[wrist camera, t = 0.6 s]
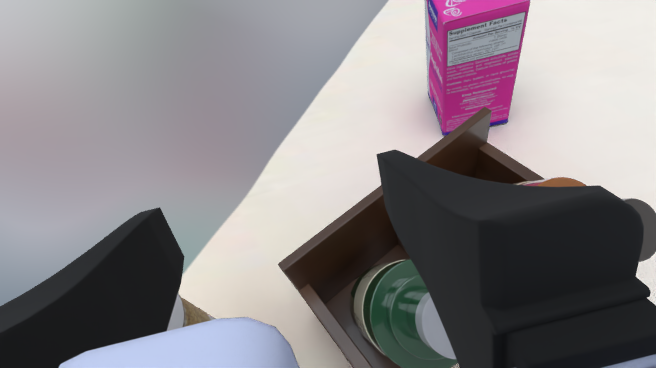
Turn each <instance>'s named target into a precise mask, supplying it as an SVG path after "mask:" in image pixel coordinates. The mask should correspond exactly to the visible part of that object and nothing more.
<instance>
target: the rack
mask: <svg viewBox="0 0 656 368" xmlns="http://www.w3.org/2000/svg"><path fill="white" fill-rule="evenodd" d="M491 113H492V110H490V109H488V108H487V107H483V108H482V109H481V110H479V111H478V112H477V113H475V114H474V115H473V116H471V117H470V118H469V119H467V120H466V121H465V122H463V123H462V124H461V125H460V126H458V127H457V128H456V129H454V130H453V131H452V132H450V133H449V134H448V135H446V136H445V137H444V138H442V139H441V140H440V141H439V142H437V143H436V144H435V145H433V146H432V147H431V148H429V149H428V150H427V151H425V152H424V153H423V154H421V155H420V156H419V157H418V158H416V159H419V160H421V161H423V162H426V163H428V164H431V165H433V166H436V167H439V168H442V169H445V170H448V171H451V172H454V173H457V174H460V175H464V176H468V177H473V178H477V179H481V180H486V181H492V182H499V183H507V184H513V183H520V182H526V181H537V180H543V179H544V178H542V177H541V176H539V175H538V174H536V173H534V172H533V171H531V170H530V169H528V168H527V167H525V166H523V165H522V164H520V163H519V162H517V161H516V160H514V159H512V158H511V157H509V156H508V155H506V154H505V153H503V152H501V151H500V150H498V149H497V148H495V147H494V146H492V145H490V144H489V143H487V138H488V132H489V125H490V119H491ZM407 259H410V257H409V255H408V253H407V252H406V250H405V248H404V246H403V245H402V243H401V241H400V239H399V237H398V236H397V234H396V232H395V230H394V228H393V225H392V223H391V220H390V218H389V215H388V213H387V210H386V207H385V202H384V196H383V190H382V185H381V186H380V187H378V188H377V189H376V190H374V191H373V192H372V193H370V194H369V195H368V196H366V197H365V198H364V199H362V200H361V201H360V202H359V203H357V204H356V205H355V206H353V207H352V208H351V209H349V210H348V211H347V212H345V213H344V214H343V215H341V216H340V217H339V218H338V219H336V220H335V221H334V222H332V223H331V224H330V225H328V226H327V227H326V228H324V229H323V230H322V231H320V232H319V233H318V234H317V235H315V236H314V237H313V238H311V239H310V240H309V241H307V242H306V243H305V244H303V245H302V246H301V247H299V248H298V249H297V250H296V251H294V252H293V253H292V254H290V255H289V256H288V257H286V258H285V259H284V260H282V261H281V262H280V263H279V264H278V265H279V267H280V268H281V269H282V271H283V272H284V273H285V275H286V276H287V277H288V279H289V280H290V281H291V282H292V284H293V285H294V286H295V288H296V289H297V290H298V291H299V293H300V294H301V296H302V297H303V298H304V300H305V301H306V303H307V304H308V305H309V307H310V308H311V310H312V311H313V312H314V314H315V315H316V317H317V318H318V319H319V321H320V322H321V323H322V325H323V326H324V328H325V329H326V330H327V332H328V333H329V335H330V336H331V337H332V339H333V340H334V342H335V343H336V344H337V346H338V347H339V349H340V350H341V351H342V353H343V354H344V355H345V357H346V358H347V360H348V361H349V362H350V364H351V365H352V367H353V368H402V367H400V366H398V365H397V364H396V363H394V362H393V361H392V360H390V359H389V358H388V357H387V356H385V355H384V354H383V353H381V352H380V351H379V350H378V349H377V348H376V347H375V346H373V345H372V344H371V343H370V342H369V341H368V340H367V339H366V338H365V337H364V336H363V335H362V334H361V333H360V332H359V331H358V329H357V328H356V326H355V324H354V322H353V320H352V317H351V312H350V296H351V292H352V288H353V286H354V284H355V282H356V281H357V279H358V278H359V277H360V275H362V274H363V273H364V272H365V271H366V270H368V269H369V268H371V267H373V266H376V265H379V264H384V263H388V262H393V261H399V260H407Z"/></svg>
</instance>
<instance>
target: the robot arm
mask: <svg viewBox="0 0 656 368" xmlns="http://www.w3.org/2000/svg"><path fill="white" fill-rule="evenodd" d="M377 159H378V165H379V171H380V177H381V184H382V190H383V196H384V202H385V207H386V210H387V213H388V215H389V218H390V220H391V223H392V225H393V228H394V230H395V232H396V234H397V236H398V237H399V239H400V241H401V243H402V245H403V246H404V248H405V250H406V252H407V253H408V255H409V257H410V259H411V260H412V262H413V264H414V265H415V267H416V269H417V271H418V272H419V274H420V276H421V278H422V280H423V282H424V283H425V285H426V287H427V289H428V292H429V294H430V296H431V299H432V301H433V303H434V306H435V308H436V310H437V313H438V315H439V317H440V320H441V322H442V325H443V327H444V329H445V332H446V334H447V337H448V339H449V342H450V344H451V347H452V349H453V352H454V354H455V357H456V359H457V362H458V364H459V367H460V368H656V306H655V305H654V304H653V303H652V302H651V301H650V300H648V299H647V298H646V297H649V296H650V290H649V288H648V287H647V286H646V285H645V284H644V283H642V282H641V281H640V280H639V279H638V278H636V277H635V276H636V271H637V267H638V262H639V258H640V254H641V249H642V245H643V237H644V225H643V222H642V218H641V215H640V214H639V213H638V212H637V211H636V210H635V209H634V207H633V206H631V205H630V204H628V203H627V202H625V201H623V200H622V199H620V198H619V197H617V196H615V195H614V194H612V193H611V192H609V191H608V190H606V189H604V188H603V187H601V186H570V187H546V186H526V185H514V184H507V183H499V182H492V181H486V180H481V179H477V178H473V177H468V176H464V175H460V174H457V173H454V172H451V171H448V170H445V169H442V168H439V167H436V166H433V165H431V164H428V163H426V162H423V161H421V160H419V159H416V158H414V157H412V156H410V155H407V154H405V153H403V152H400V151H397V150H392V151H388V152H384V153H380V154H377ZM183 262H184V255H183V254H182V252H181V249H180V247H179V245H178V243H177V241H176V239H175V237H174V235H173V234H172V231H171V229H170V227H169V225H168V223H167V221H166V219H165V217H164V215H163V213H162V211H161V209H160V208H156V209H152V210H148V211H144V212H141V213H139V214H137V215H135V216H134V217H132V218H131V219H129V220H128V221H126V222H125V223H124V224H122V225H121V226H120V227H118V228H117V229H116V230H114V231H113V232H112V233H110V234H109V235H108V236H106V237H105V238H104V239H103V240H101V241H100V242H99V243H97V244H96V245H95V246H94V247H92V248H91V249H89V250H88V251H87V252H85V253H84V254H83V255H81V256H80V257H79V258H77V259H76V260H74V261H73V262H72V263H70V264H69V265H67V266H66V267H65V268H63V269H62V270H60V271H59V272H58V273H56V274H54V275H53V276H51V277H50V278H48V279H47V280H45V281H44V282H42V283H40V284H39V285H37V286H35V287H34V288H32V289H31V290H29V291H27V292H26V293H24V294H22V295H21V296H19V297H17V298H15V299H13V300H11V301H9V302H8V303H6V304H4V305H2V306H0V368H300V367H299V366H298V364H297V361H296V358H295V356H294V353H293V351H292V348H291V345H290V344H289V343H288V341H287V340H286V339H285V338H284V337H283V336H282V334H281V333H280V332H279V331H278V330H277V329H276V327H274V326H271V325H268V324H265V323H262V322H260V321H257V320H254V319H251V318H248V317H240V318H221V319H214V320H210V321H206V322H202V323H198V324H194V325H190V326H186V327H182V328H178V329H174V330H170V331H167V328H168V325H169V322H170V318H171V315H172V312H173V308H174V305H175V302H176V298H177V295H178V291H179V288H180V284H181V279H182V272H183Z"/></svg>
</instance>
